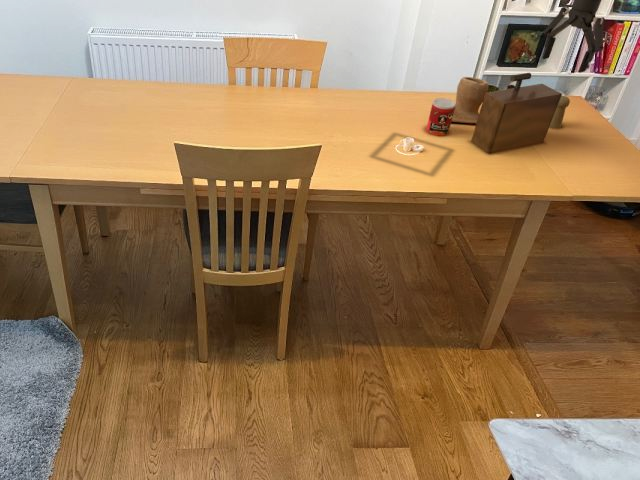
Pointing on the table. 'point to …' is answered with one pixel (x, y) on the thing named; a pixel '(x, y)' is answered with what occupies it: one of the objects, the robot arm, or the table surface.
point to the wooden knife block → (515, 116)
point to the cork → (559, 112)
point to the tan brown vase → (469, 99)
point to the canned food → (440, 116)
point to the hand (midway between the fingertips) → (563, 64)
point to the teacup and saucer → (410, 146)
